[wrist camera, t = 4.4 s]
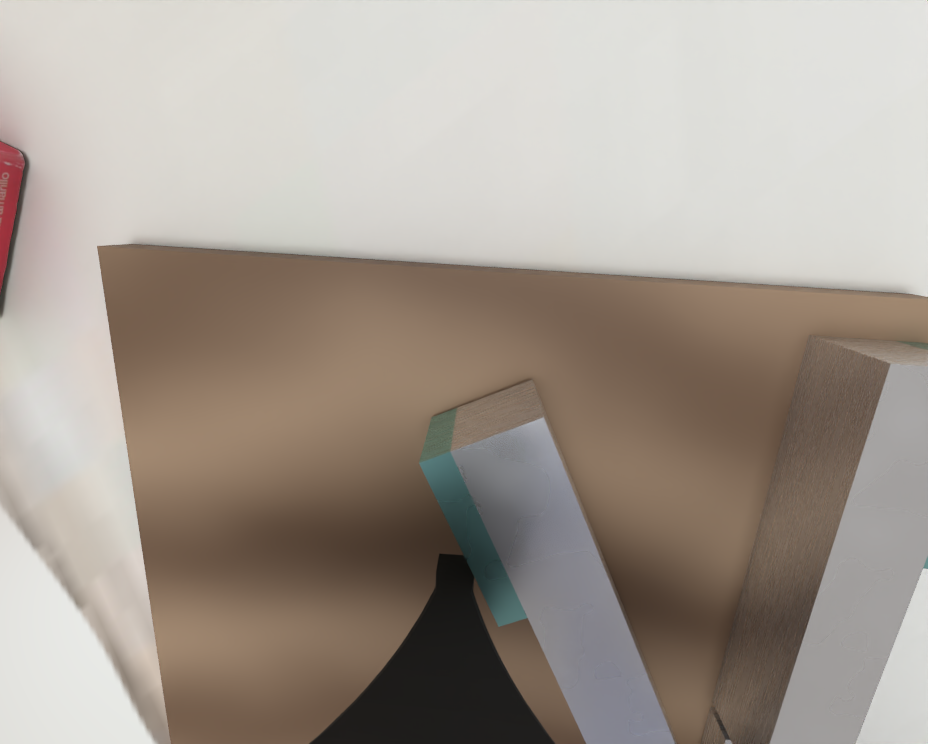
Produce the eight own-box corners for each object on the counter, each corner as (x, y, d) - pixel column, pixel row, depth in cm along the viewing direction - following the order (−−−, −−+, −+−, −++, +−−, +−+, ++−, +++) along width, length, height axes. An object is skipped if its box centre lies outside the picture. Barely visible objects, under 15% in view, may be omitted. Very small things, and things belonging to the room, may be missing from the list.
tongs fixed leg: (769, 806, 16) (830, 932, 13) (655, 796, 16) (691, 919, 13) (925, 343, 12) (1066, 381, 9) (765, 332, 12) (855, 367, 9)
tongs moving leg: (682, 754, 16) (718, 851, 13) (598, 775, 16) (618, 873, 14) (532, 378, 12) (543, 416, 10) (431, 417, 13) (418, 463, 10)
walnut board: (756, 779, 18) (775, 818, 16) (194, 730, 18) (174, 765, 17) (910, 294, 13) (952, 300, 11) (131, 244, 13) (97, 246, 12)
